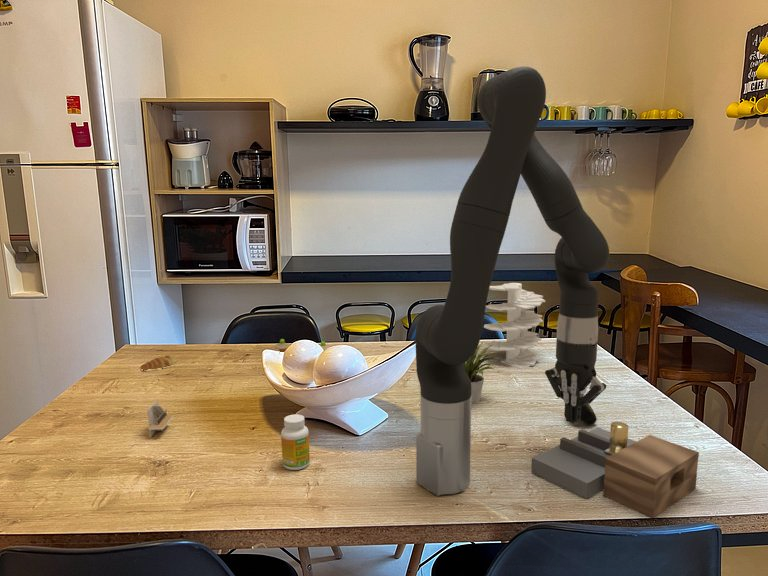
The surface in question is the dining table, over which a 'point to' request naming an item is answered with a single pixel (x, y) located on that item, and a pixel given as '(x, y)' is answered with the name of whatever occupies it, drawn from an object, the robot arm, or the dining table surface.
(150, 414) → the architectural model
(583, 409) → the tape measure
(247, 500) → the dining table surface
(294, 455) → the supplement bottle
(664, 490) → the block
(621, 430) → the bolt
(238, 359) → the dining table surface
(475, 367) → the house plant
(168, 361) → the pastry
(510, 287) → the spiral staircase
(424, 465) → the robot arm
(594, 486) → the grey grooved block
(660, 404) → the dining table surface
